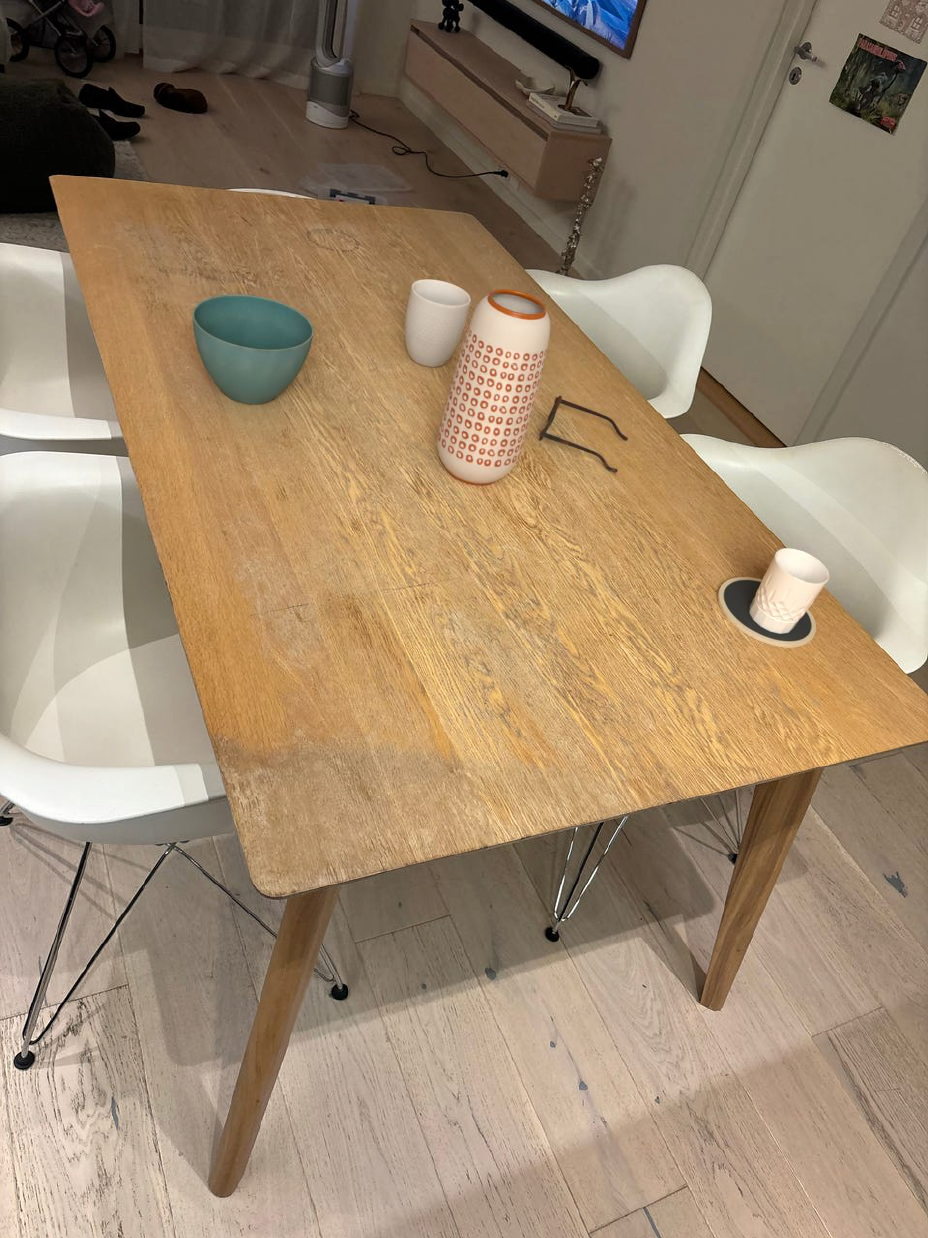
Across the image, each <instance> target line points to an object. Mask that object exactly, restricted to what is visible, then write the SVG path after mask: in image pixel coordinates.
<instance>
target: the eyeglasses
mask: <svg viewBox="0 0 928 1238" xmlns="http://www.w3.org/2000/svg"><path fill="white" fill-rule="evenodd" d="M562 398H563V396H562V395H559V396H556V397H555V399H554V404H553V406H552V409H551V410H550V412H549V414H548V418H547V422H546V425H544V428H543V429H542V430H540V432H539V434H538V435H539V438H538V439H539V441H542V440H543V439H544V438H545V439H547V440H551V441H553V442H556V443H559V444H561V445H565V446H568V447H570V448H573V449H576V450H580V451H582V452H584V453H585V452H586V453H588V454H590V455H593V456H595V457H597V458H598V459H599V460H600V461H601V463H602V464H603V466H604V467H605V469H606V470H608V471H609V472H613V473H618V468H615V467H611V466H610V465H609V464H608V462H607V461H606V459H605V458H604V456H603V455H601V454H600V453H598V452H596V451H595V450H591V449H590V448H587V447H584V446H583V445H579V444H577V443H574V442H572V441H569V440H567V439H564V438H561V437H559V436H556V435H553V434H550V433H548V430H549V428H550V427H551V425H552V423H553V421H554V420H555V417H556V413H557V411H558V409H559V407H560V405H563V406H566V407H569V408H572V409H575V410H578V411H581V412H584V413H587V414H590V415H593V416H595V417H599V418H601V419H604V420H605V421H608V422H609V423H610V424H611V425H612V427H613V429H614V431H615V433H616V434H617V435H618V436H619V437H620V438H621V439H622V440H624V441H625V442H626V441H628V440H629V438H628V436H626V435H624V434H623V433H622V432H621V431H620V429H619V427H618V426H617V424H616V423H615V421H614V420H613V419H612V418H610V417H609V416H607V415H605V414H602V413H600V412H597V411H595V410H592V409H589V408H587V407H584V406H581V405H579V404H577V403H573V402H571V401H568V400H566V399H562Z"/></svg>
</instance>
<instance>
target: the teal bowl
mask: <svg viewBox="0 0 928 1238" xmlns="http://www.w3.org/2000/svg"><path fill="white" fill-rule="evenodd" d="M192 328H193V335H194V341H195V344H196V348H197V351H198V354H199V357H200V359H201V362H202V365H203V366H204V368H205V371H206V372H207V374H208V375H209V377H210V379H211V380H212V381H213V382H214V383H215V385H216V386H217V387H218V389H219V390H220V391H221V392H222V393H223V394H224V395H225V396H226V397H228V398H229V399H231V400H232V401H234V402H237V403H240V404H245V405H264V404H267V403H269V402H271V401H273V400H274V399H275V398H277V397H278V396H279V395H280V394H282V393H283V392H284V391H285V390H286V389H288V387H289V386H290V385H291V384H292V383H293V382H294V381H295V379H296V378H297V377H298V375H299V373H300V372H301V370H302V368H303V367H304V364H305V362H306V360H307V358H308V355H309V353H310V350H311V348H312V347H311V346H312V343H313V338H314V332H315V331H314V325H313V324H312V322H311V320H309V319H308V317H307V316H305V314H303V313H302V312H301V311H299V310H297V309H296V308H294V307H292V306H290V305H288V304H285V303H283V302H280V301H278V300H274V299H270V298H267V297H262V296H256V295H249V294H223V295H216V296H212V297H209V298H206V299H204V300H202V301H200V302H199V303H197V304H196V305H195V307H194V308H193V309H192Z"/></svg>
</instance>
